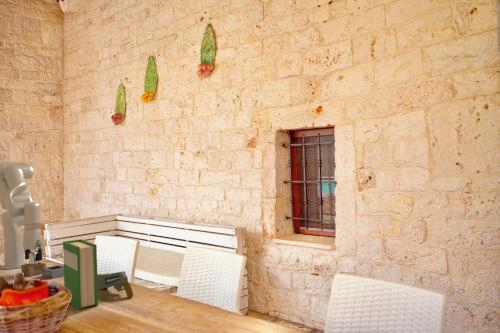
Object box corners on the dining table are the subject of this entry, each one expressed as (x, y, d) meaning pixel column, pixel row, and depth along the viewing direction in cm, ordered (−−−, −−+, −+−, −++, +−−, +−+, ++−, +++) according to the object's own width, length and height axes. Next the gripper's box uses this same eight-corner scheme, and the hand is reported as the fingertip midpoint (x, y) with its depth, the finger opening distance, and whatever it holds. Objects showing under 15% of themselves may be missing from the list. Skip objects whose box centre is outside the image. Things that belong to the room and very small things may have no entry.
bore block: (21, 274, 219) (21, 265, 219) (37, 271, 226) (36, 261, 226) (30, 276, 214) (30, 266, 214) (46, 272, 221) (46, 263, 221)
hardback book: (98, 305, 166) (96, 244, 166) (78, 310, 161) (76, 247, 161) (83, 295, 179) (81, 239, 179) (64, 299, 175) (63, 241, 175)
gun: (107, 307, 191) (100, 274, 194) (137, 295, 176) (128, 260, 179) (101, 309, 188) (93, 275, 192) (130, 297, 173) (121, 261, 177)
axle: (28, 274, 219) (27, 253, 219) (35, 272, 223) (34, 251, 223) (32, 275, 217) (31, 253, 217) (39, 273, 221) (39, 252, 220)
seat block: (41, 276, 214) (41, 268, 214) (58, 272, 221) (58, 264, 221) (52, 278, 209) (52, 270, 209) (68, 274, 216) (68, 266, 216)
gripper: (16, 226, 221) (17, 259, 221) (35, 228, 212) (36, 263, 212) (30, 224, 228) (31, 256, 228) (49, 226, 218) (50, 260, 218)
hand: (33, 259), depth 220 cm, fingers open, 9 cm apart
